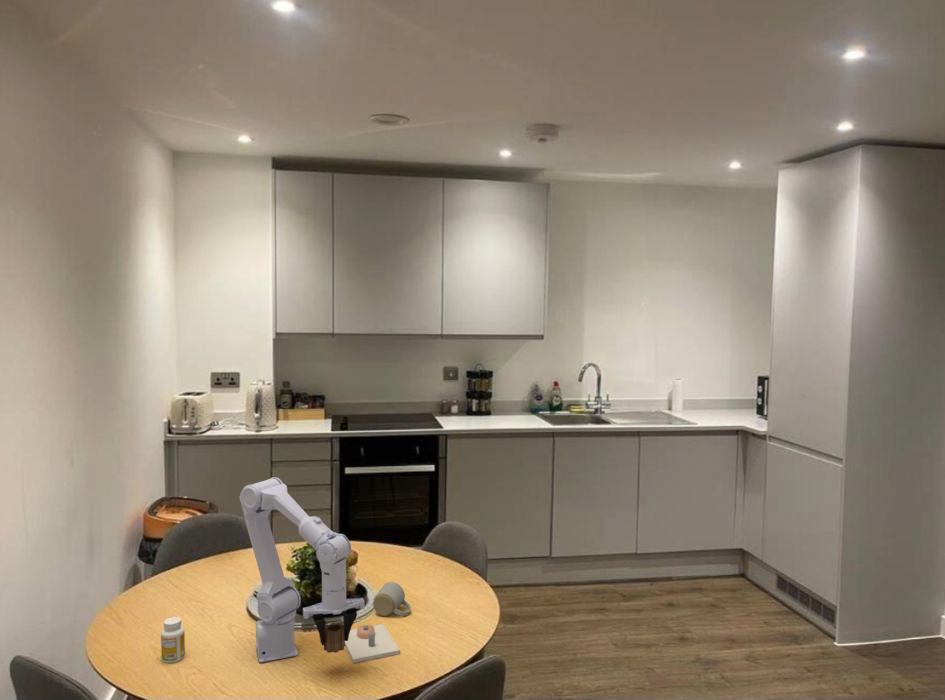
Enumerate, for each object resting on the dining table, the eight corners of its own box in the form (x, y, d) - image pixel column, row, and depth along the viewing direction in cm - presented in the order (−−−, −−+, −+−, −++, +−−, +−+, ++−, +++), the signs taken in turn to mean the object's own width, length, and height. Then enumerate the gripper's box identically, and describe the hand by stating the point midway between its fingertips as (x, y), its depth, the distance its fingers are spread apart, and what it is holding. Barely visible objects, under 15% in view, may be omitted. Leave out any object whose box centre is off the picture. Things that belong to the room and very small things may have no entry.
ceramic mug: (371, 615, 196) (371, 590, 195) (381, 603, 203) (382, 579, 203) (404, 621, 193) (405, 595, 193) (414, 609, 201) (414, 584, 200)
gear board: (353, 663, 170) (353, 647, 170) (340, 635, 184) (339, 621, 184) (399, 653, 175) (399, 638, 175) (383, 627, 189) (383, 613, 189)
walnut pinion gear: (326, 654, 163) (325, 634, 163) (321, 644, 168) (321, 625, 168) (346, 650, 165) (346, 630, 165) (342, 640, 170) (342, 621, 170)
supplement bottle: (178, 650, 176) (177, 613, 175) (189, 657, 172) (188, 619, 172) (157, 658, 172) (156, 620, 171) (168, 666, 168) (167, 627, 167)
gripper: (306, 598, 159) (306, 654, 160) (367, 588, 165) (367, 643, 166) (301, 586, 165) (301, 640, 166) (360, 577, 171) (360, 630, 172)
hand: (334, 641), depth 166 cm, fingers closed on walnut pinion gear, 5 cm apart
